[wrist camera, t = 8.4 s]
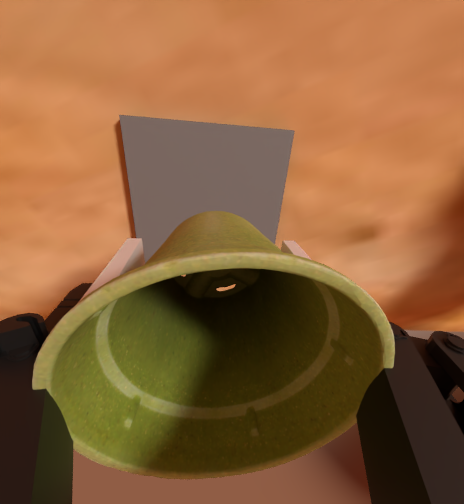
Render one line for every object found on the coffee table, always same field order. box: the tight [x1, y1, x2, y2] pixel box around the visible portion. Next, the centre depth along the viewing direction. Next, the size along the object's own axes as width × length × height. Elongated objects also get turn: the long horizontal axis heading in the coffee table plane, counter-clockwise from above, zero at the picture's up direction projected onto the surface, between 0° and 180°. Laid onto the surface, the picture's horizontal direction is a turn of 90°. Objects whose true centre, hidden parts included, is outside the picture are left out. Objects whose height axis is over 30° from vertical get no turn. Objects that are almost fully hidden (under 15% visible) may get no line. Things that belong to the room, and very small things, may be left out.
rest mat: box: [119, 115, 294, 263], centre depth 24 cm, size 16×16×1 cm
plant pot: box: [32, 211, 395, 479], centre depth 10 cm, size 9×9×9 cm
